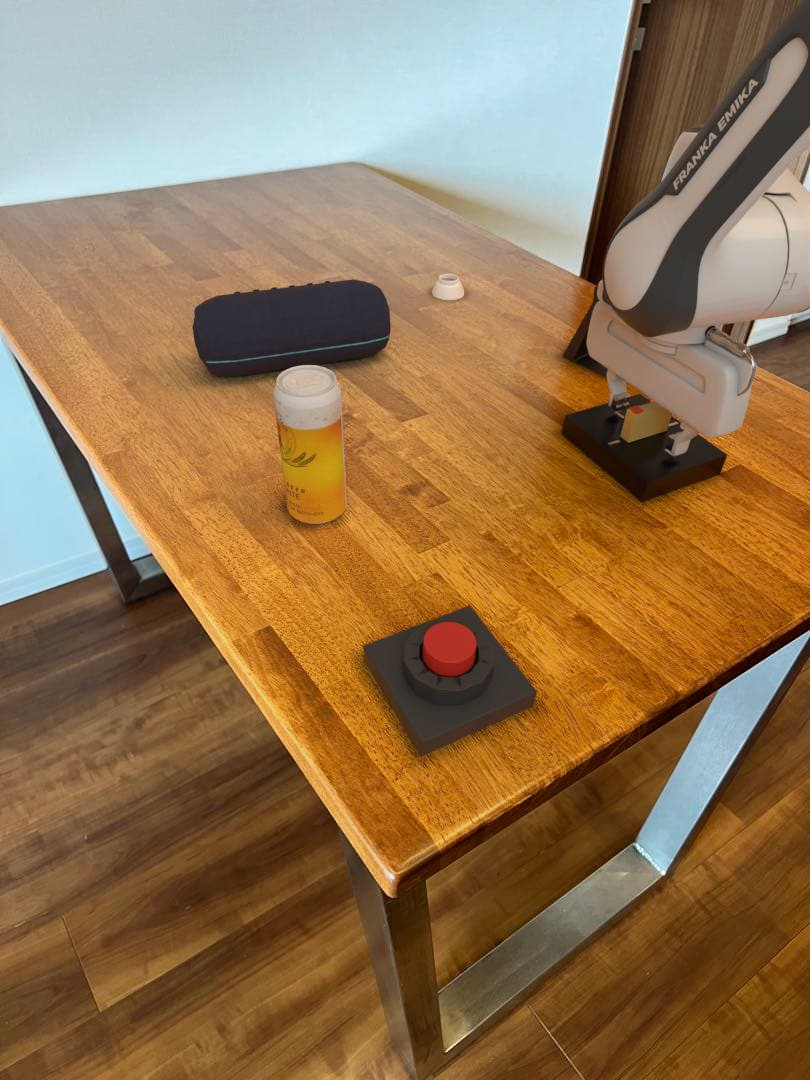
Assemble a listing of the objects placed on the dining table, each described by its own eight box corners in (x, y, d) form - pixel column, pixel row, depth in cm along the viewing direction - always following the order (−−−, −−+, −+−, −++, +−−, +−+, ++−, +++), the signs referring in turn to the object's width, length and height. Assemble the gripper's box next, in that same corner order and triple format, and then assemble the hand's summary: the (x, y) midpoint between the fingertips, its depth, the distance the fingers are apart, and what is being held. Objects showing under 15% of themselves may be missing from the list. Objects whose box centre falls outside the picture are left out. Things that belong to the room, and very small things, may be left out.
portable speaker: (375, 334, 104) (374, 264, 97) (396, 367, 97) (397, 294, 90) (196, 359, 98) (182, 286, 91) (205, 395, 91) (191, 320, 84)
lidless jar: (432, 302, 112) (464, 303, 112) (432, 283, 110) (465, 284, 110) (431, 289, 116) (463, 289, 116) (432, 270, 114) (464, 271, 114)
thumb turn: (658, 424, 82) (667, 395, 79) (667, 431, 81) (676, 401, 78) (619, 436, 80) (627, 407, 77) (628, 443, 79) (636, 413, 77)
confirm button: (484, 665, 55) (486, 650, 54) (438, 684, 54) (439, 669, 53) (458, 629, 58) (459, 615, 57) (413, 647, 57) (414, 632, 56)
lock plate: (719, 477, 80) (728, 453, 78) (640, 505, 76) (648, 480, 74) (634, 415, 89) (640, 392, 87) (560, 437, 85) (565, 413, 83)
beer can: (281, 498, 76) (264, 368, 66) (337, 486, 78) (329, 358, 68) (296, 535, 72) (280, 402, 62) (355, 521, 73) (349, 390, 63)
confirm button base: (533, 708, 57) (540, 676, 54) (420, 759, 53) (422, 728, 51) (468, 622, 64) (471, 590, 61) (363, 662, 60) (362, 630, 57)
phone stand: (561, 359, 99) (576, 271, 91) (587, 345, 102) (604, 259, 94) (616, 384, 95) (637, 294, 87) (642, 369, 98) (665, 281, 90)
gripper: (787, 347, 65) (737, 472, 74) (635, 266, 79) (609, 380, 88) (735, 361, 63) (691, 488, 72) (588, 276, 76) (566, 392, 86)
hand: (645, 428), depth 80 cm, fingers open, 8 cm apart
